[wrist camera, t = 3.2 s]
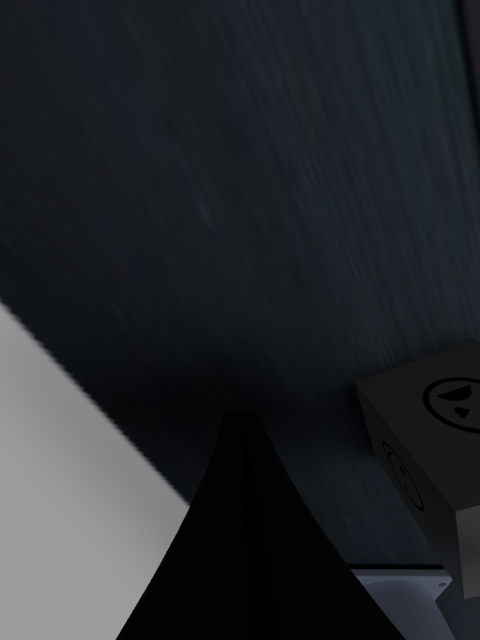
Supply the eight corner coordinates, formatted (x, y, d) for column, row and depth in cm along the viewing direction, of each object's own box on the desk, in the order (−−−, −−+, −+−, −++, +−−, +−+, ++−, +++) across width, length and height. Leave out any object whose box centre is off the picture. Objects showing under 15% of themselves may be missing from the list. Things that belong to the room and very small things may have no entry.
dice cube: (353, 380, 10) (455, 511, 6) (472, 338, 10) (698, 446, 5) (374, 454, 12) (464, 599, 7) (475, 422, 11) (643, 558, 7)
